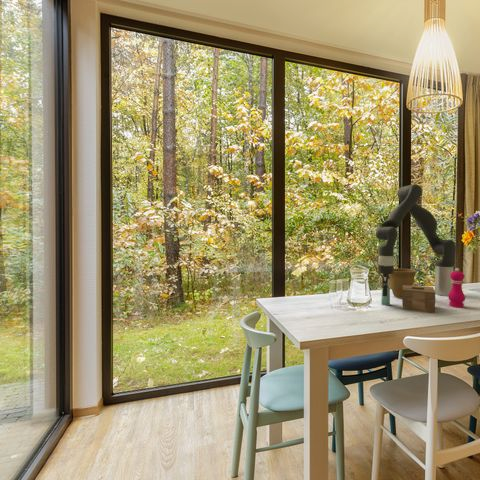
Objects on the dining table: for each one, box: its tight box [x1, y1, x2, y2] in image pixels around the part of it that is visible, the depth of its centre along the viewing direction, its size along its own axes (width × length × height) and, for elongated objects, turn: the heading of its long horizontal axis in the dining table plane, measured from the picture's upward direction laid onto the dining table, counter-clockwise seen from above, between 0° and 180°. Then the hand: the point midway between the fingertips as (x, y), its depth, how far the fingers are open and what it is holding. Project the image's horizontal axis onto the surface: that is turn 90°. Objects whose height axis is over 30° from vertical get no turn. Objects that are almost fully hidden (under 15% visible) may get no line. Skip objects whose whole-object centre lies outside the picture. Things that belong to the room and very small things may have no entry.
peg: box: [381, 287, 391, 306], centre depth 167 cm, size 4×4×9 cm
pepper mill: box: [447, 267, 466, 309], centre depth 162 cm, size 7×7×20 cm
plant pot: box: [389, 268, 416, 299], centre depth 184 cm, size 15×15×16 cm
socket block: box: [401, 285, 436, 314], centre depth 160 cm, size 14×14×10 cm
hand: (385, 294), depth 167 cm, fingers open, 8 cm apart
